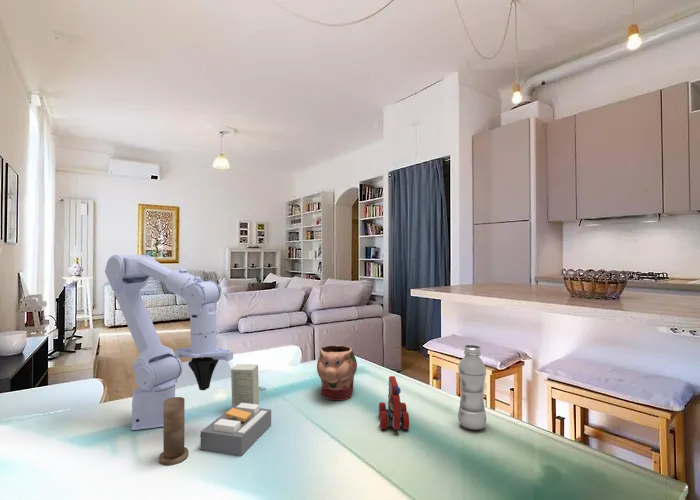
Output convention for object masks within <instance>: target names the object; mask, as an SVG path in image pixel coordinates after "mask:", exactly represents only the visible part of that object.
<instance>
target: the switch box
mask: <svg viewBox="0 0 700 500" xmlns="http://www.w3.org/2000/svg"><path fill="white" fill-rule="evenodd" d="M232 408H235V409H239V410H243V411H246V412H250V413H251V417H250V418H248V419H247V420H246V421H245V422H242V421H239V420H238V421H234V420H232V418H229V417H225V414H226V412H228V411H229V410H230V409H232ZM230 409H228V410H227V411H226V412H224V413H223V414H222V415H220V416H219V417H217V418H216V419H214V420H213V421H212V422H211V423H210V424H209V425H207V426H206V427H205V428H203V429H202V430H200V450H201V451H204V452H205V451H206V452H213V453H219V454H224V453H225V454H227V455H231V454H232V455H233V456H237V455H241V456H240V457H242V456H244V454H246V453H247V451H248V450H249V449H250V448H251V447H252V446H253V445H254V444H255V443H256V442H257V441H258V440H260V438H261V437H262V436H263V435H264V434H265V433H266V432H267V430H269V429H270V428H271V426H272V409H270V408H261V405H260V404H259V405H257V404H249V403H241V404H239V405H235V406H234V407H232V406H231V408H230ZM263 433H264V434H263ZM262 434H263V435H262ZM261 435H262V436H261ZM260 436H261V437H260ZM259 437H260V438H259ZM257 439H258V440H257ZM225 454H224V455H225Z"/></svg>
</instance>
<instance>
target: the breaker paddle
mask: <svg viewBox="0 0 700 500" xmlns="http://www.w3.org/2000/svg"><path fill="white" fill-rule="evenodd" d="M231 408H232V407H231ZM231 408H229V409H228V410H229V411H228V410H227V411H228V412H227V411H226V412H225V413H226V414H225V417H229V418H232V420H234V421H238V420H239V421H242V422H245V421H246V420H247V419H248V418H250V417H251V413H250V412H246V411H243V410H239V409H235V408H232V409H231Z"/></svg>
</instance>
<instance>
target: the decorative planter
mask: <svg viewBox="0 0 700 500" xmlns="http://www.w3.org/2000/svg"><path fill="white" fill-rule="evenodd" d="M357 370H358V361H357V358H356V355H355V354H354V350H353V349H352V347H350V346H347V345H335V344H334V345H326V346H322V347H321V348H320V350H319V357H318V359H317V362H316V372H317V374H318V376H319V378H320V380H321V391H320V395H321V397H323V398H324V399H327V400H330V401H331V400H332V401H333V400H334V401H343V400H348V399H349V398H351V397H352V395H353V391H354V379H355V375H356V373H357Z"/></svg>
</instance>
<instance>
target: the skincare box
mask: <svg viewBox="0 0 700 500" xmlns="http://www.w3.org/2000/svg"><path fill="white" fill-rule="evenodd" d="M230 374H231V375H230V376H231V378H230V379H231V380H230V381H231V408H232V407H234V406H235V405H239V404H241V403H249V404H257V405H260V391H259V388H260V387H259V386H260V385H259V383H260V382H259V364H248V363H247V364H245V363H244V364H243V363H242V364H239V363H238V364H236V365H234V366H233V367H232V368H231V369H230Z"/></svg>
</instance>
